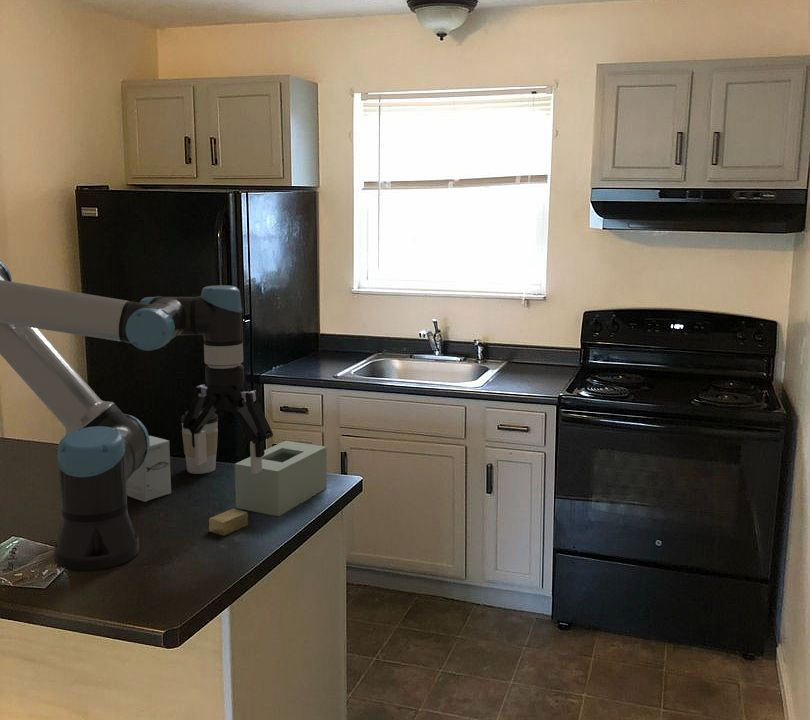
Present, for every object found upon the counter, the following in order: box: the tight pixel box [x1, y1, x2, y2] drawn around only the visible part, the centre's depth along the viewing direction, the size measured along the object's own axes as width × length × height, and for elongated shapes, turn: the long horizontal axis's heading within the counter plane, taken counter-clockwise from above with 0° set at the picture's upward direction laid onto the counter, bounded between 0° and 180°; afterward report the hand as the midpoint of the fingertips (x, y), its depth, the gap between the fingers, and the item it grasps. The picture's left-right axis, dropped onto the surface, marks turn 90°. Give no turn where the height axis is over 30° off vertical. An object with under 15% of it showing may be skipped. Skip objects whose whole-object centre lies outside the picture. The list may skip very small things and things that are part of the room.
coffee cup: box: [180, 408, 219, 475], centre depth 216 cm, size 9×9×15 cm
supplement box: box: [126, 435, 172, 503], centre depth 198 cm, size 7×7×13 cm
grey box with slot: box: [234, 440, 328, 517], centre depth 197 cm, size 20×11×10 cm, turn 155°
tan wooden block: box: [208, 508, 249, 536], centre depth 180 cm, size 7×4×3 cm, turn 147°
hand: (228, 467), depth 178 cm, fingers open, 13 cm apart
